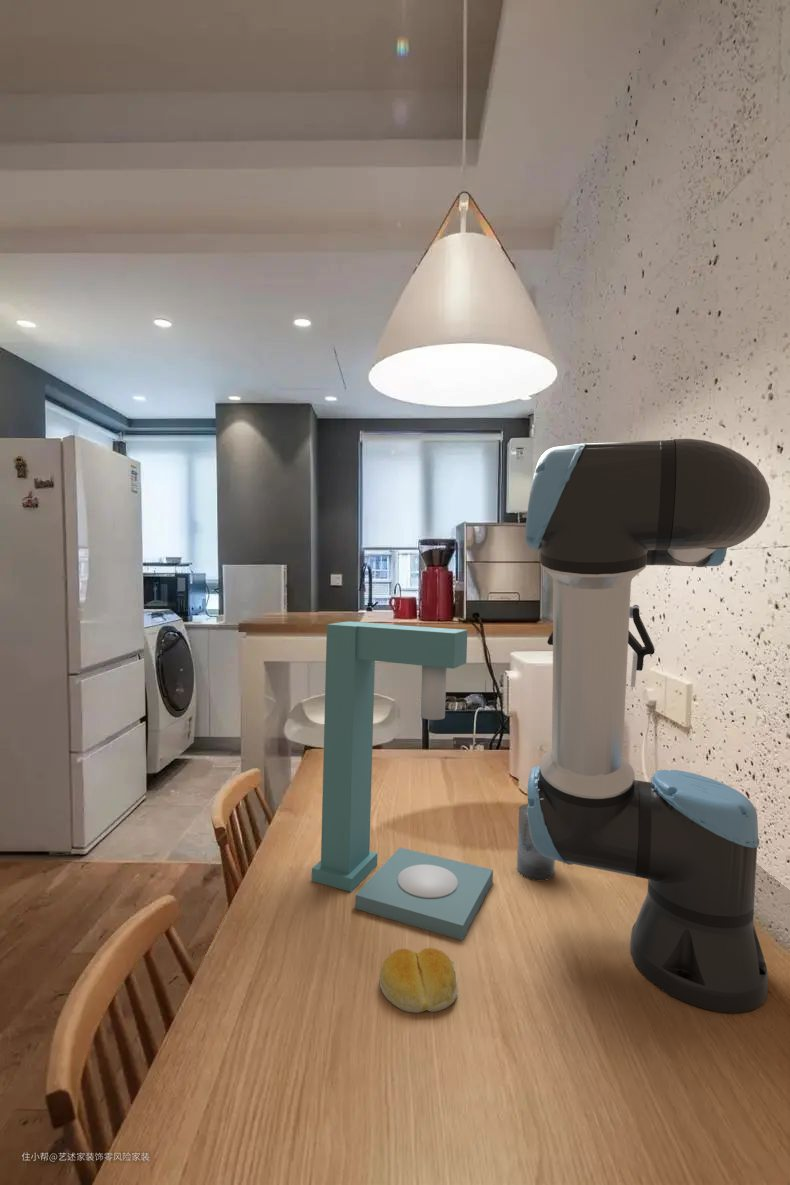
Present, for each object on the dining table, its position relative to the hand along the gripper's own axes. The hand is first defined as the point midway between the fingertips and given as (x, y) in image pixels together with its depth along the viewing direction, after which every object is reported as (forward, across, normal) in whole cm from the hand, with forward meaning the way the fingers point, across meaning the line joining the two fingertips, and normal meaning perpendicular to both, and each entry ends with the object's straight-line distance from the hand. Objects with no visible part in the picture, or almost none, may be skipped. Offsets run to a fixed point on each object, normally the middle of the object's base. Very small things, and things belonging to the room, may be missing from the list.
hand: (597, 680), depth 118 cm
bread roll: (+11, +16, +68) cm, 70 cm away
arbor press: (+15, +26, +49) cm, 58 cm away
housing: (+19, +7, +36) cm, 41 cm away
